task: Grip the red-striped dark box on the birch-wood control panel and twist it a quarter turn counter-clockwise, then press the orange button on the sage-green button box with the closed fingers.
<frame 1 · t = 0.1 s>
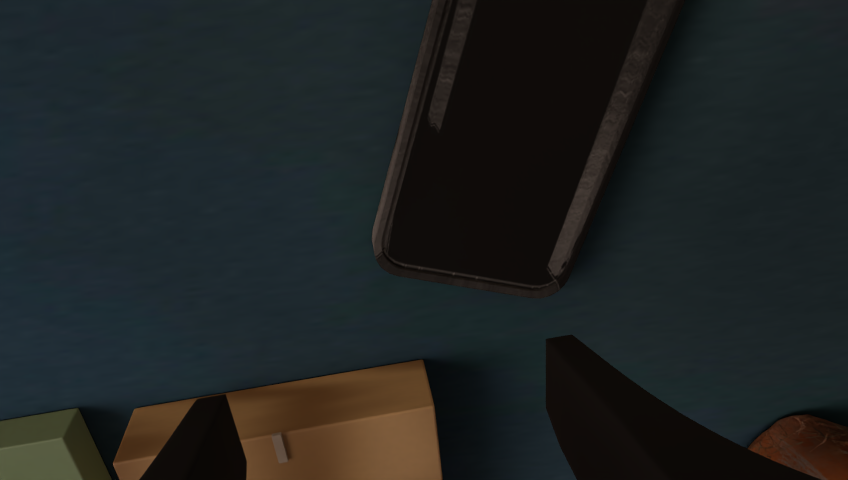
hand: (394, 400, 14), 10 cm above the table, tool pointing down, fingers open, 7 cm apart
control panel: (303, 467, 28), on the table
phone: (520, 86, 21), on the table
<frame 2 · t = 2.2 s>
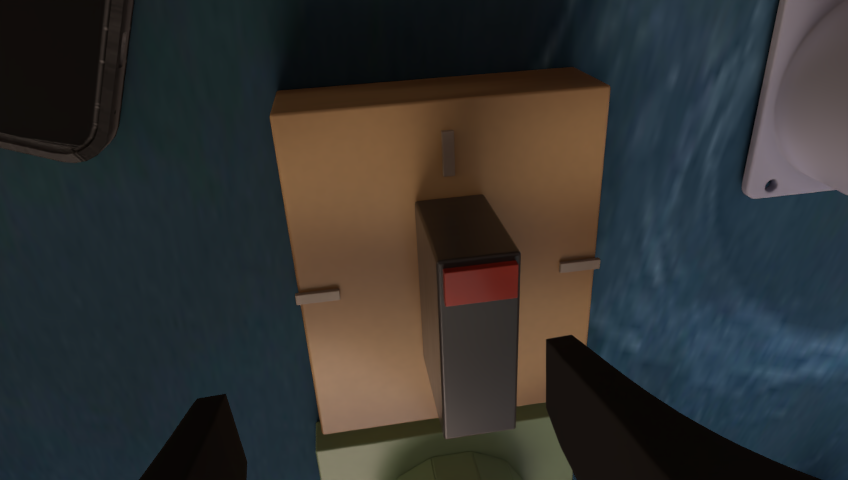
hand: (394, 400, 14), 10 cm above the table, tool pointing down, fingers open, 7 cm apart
red-striped dark box: (465, 315, 18), point 5 cm above the table, hinge at 0.0°
control panel: (436, 239, 23), on the table
button box: (446, 476, 28), on the table
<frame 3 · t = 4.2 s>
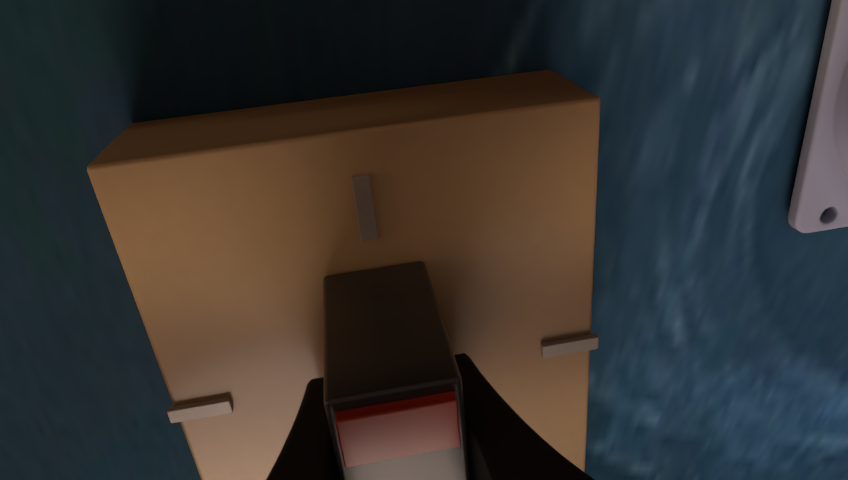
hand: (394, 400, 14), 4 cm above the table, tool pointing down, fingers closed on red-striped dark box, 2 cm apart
red-striped dark box: (400, 442, 12), point 5 cm above the table, hinge at 0.0°, touching gripper
control panel: (379, 306, 17), on the table
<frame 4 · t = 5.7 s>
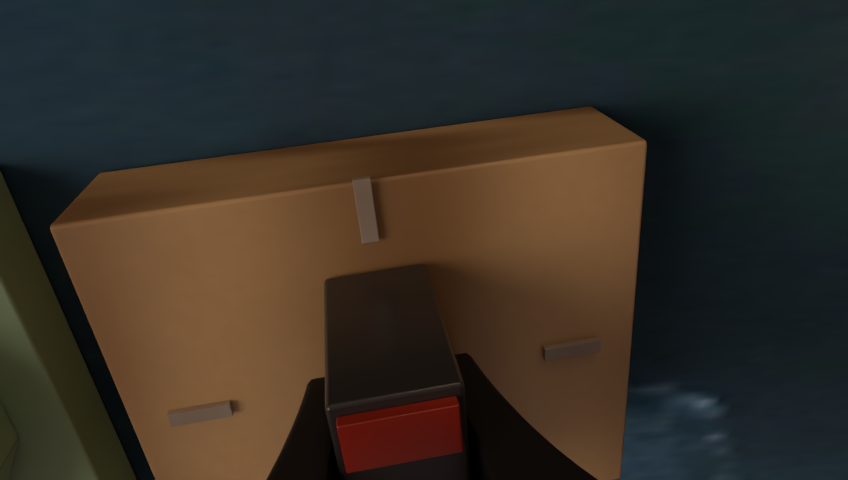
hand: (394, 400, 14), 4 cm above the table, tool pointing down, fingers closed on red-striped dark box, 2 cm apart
red-striped dark box: (402, 446, 12), point 5 cm above the table, hinge at 90.0°, touching gripper
control panel: (380, 309, 17), on the table
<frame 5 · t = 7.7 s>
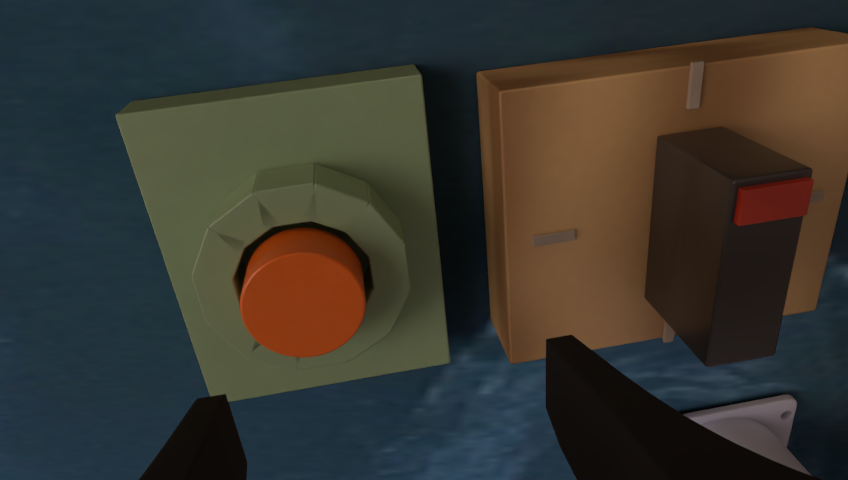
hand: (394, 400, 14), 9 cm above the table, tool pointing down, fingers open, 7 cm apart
red-striped dark box: (717, 245, 18), point 5 cm above the table, hinge at 90.0°
control panel: (638, 184, 23), on the table
button box: (307, 235, 22), on the table
button: (304, 292, 18), point 4 cm above the table, slide at 0.1 cm
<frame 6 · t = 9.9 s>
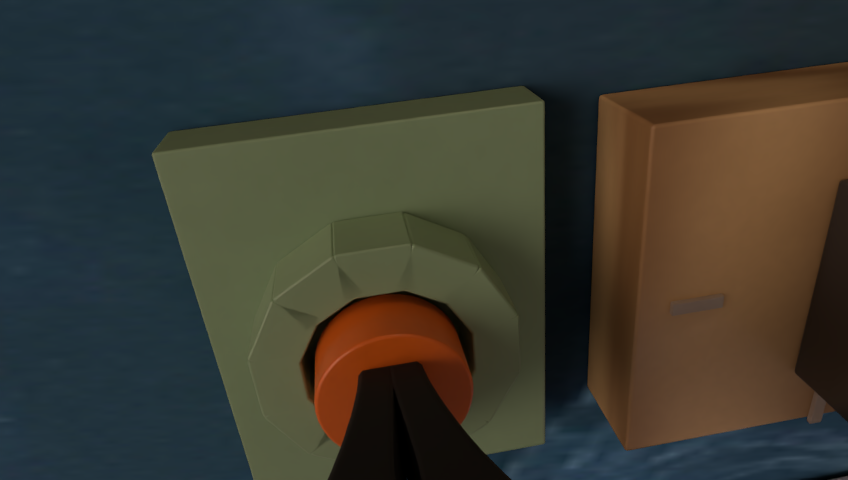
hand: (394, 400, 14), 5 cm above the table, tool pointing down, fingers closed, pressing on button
control panel: (775, 229, 19), on the table
button box: (378, 292, 18), on the table
button: (391, 376, 14), point 4 cm above the table, slide at 0.0 cm, touching gripper
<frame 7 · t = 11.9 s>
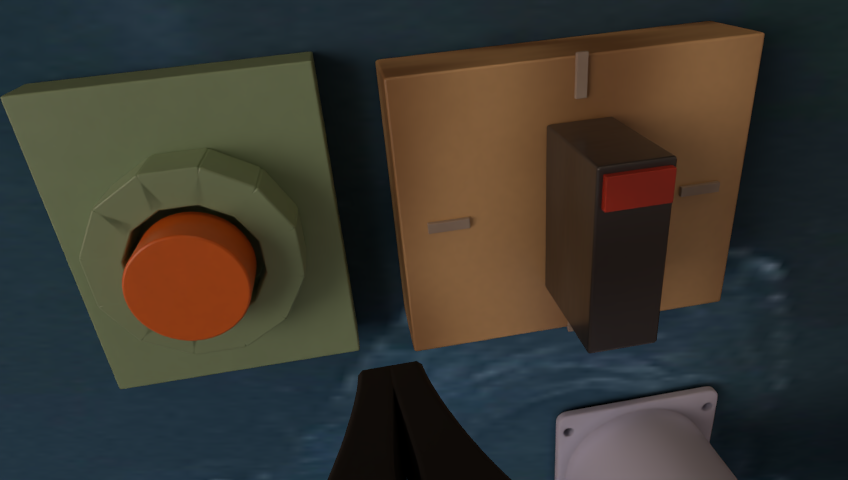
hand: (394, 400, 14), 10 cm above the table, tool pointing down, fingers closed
red-striped dark box: (602, 233, 19), point 5 cm above the table, hinge at 90.0°
control panel: (546, 174, 23), on the table
button box: (213, 221, 22), on the table
button: (193, 276, 18), point 4 cm above the table, slide at 0.1 cm
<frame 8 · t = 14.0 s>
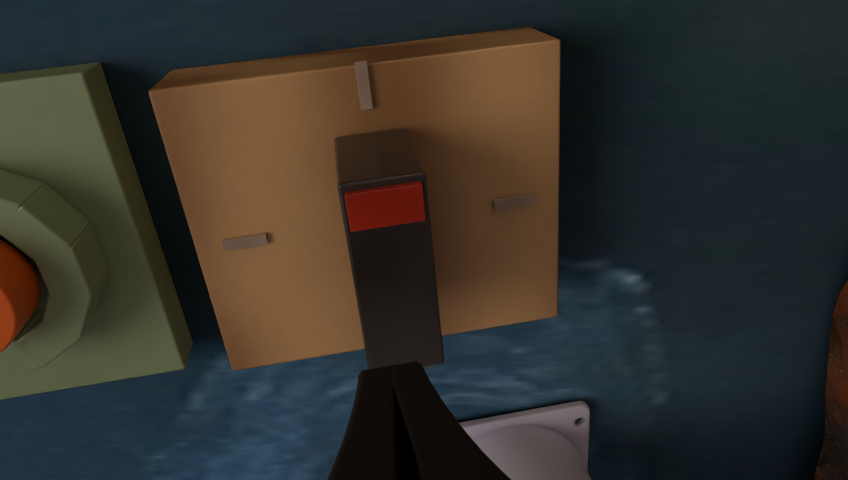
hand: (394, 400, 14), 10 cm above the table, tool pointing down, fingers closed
red-striped dark box: (388, 250, 18), point 5 cm above the table, hinge at 90.0°
control panel: (374, 186, 22), on the table
button box: (21, 237, 21), on the table
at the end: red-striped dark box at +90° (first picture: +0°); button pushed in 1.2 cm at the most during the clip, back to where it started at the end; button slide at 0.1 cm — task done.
